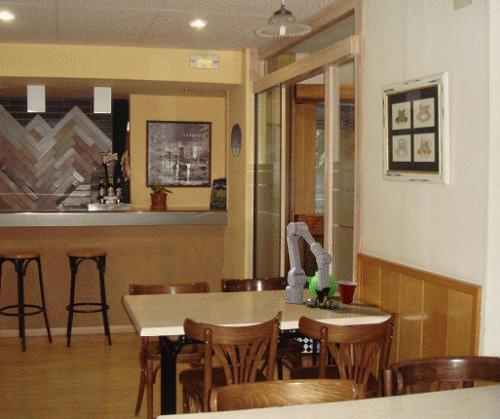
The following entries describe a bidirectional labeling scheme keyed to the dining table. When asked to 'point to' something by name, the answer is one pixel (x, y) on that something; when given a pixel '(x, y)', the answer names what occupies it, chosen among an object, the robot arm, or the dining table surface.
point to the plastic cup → (347, 291)
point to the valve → (324, 304)
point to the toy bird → (314, 284)
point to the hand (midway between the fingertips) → (322, 301)
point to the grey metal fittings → (331, 304)
